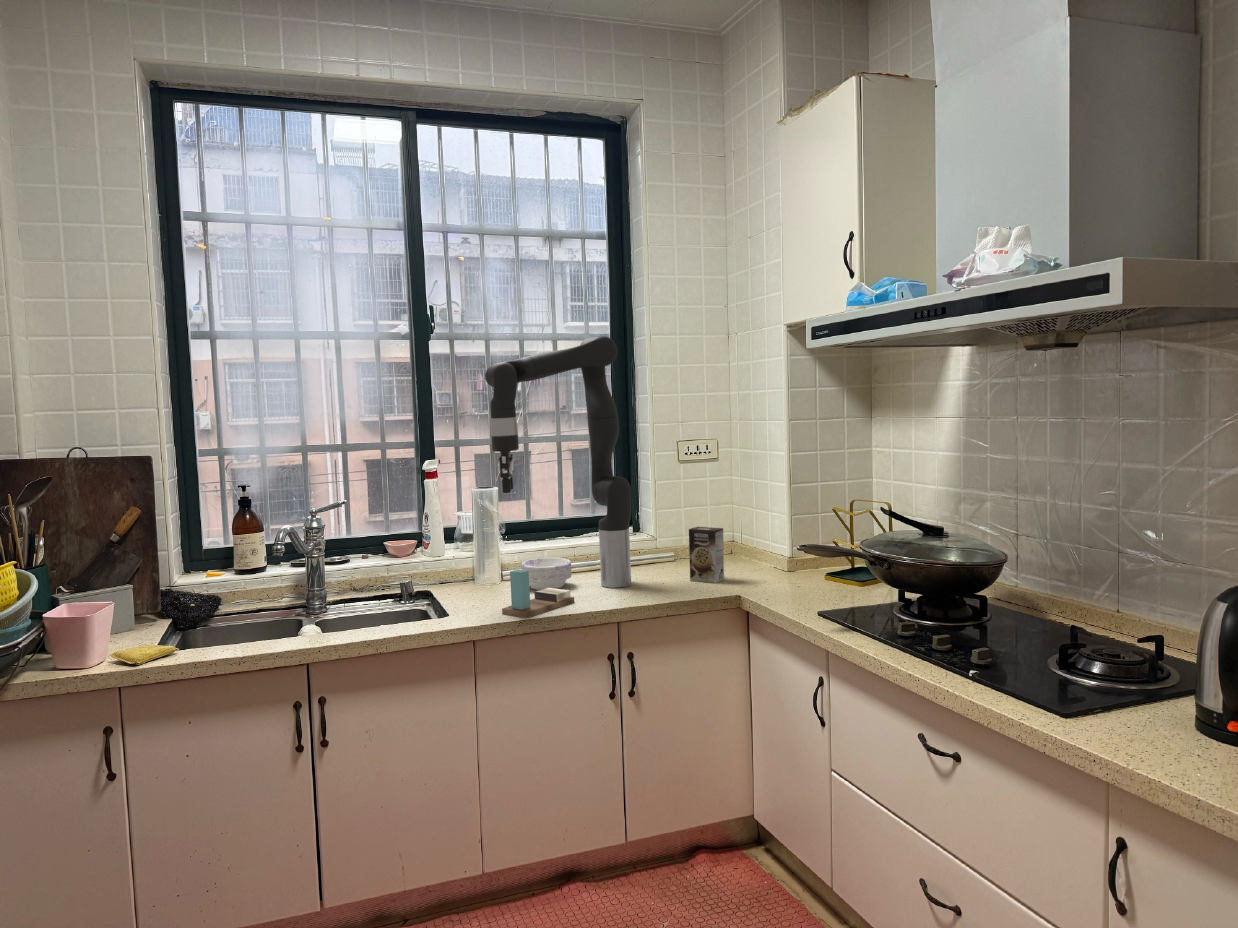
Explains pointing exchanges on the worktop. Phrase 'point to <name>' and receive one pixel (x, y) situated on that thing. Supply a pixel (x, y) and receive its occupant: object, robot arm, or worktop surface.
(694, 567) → the coffee box
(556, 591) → the stand
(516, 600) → the teal rectangular block
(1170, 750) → the worktop surface
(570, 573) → the white and purple bowl
